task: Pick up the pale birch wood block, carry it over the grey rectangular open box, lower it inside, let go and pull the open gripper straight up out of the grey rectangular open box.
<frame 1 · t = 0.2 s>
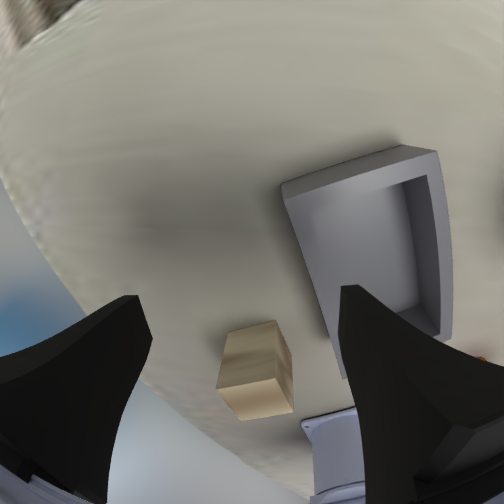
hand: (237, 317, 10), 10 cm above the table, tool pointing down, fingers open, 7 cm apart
grey rectangular open box: (369, 253, 19), on the table
birch block: (260, 344, 23), on the table
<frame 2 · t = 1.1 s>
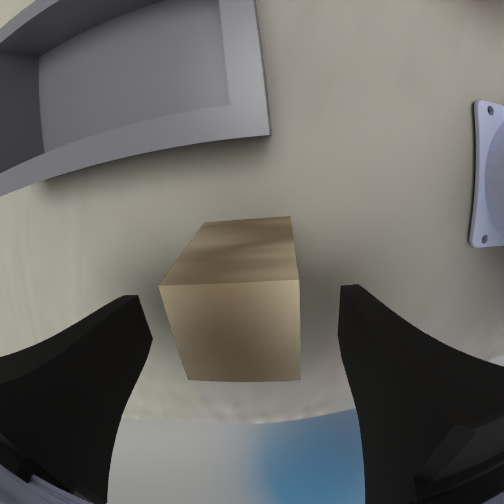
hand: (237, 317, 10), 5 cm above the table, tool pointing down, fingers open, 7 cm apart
grey rectangular open box: (125, 73, 11), on the table
birch block: (250, 258, 14), on the table
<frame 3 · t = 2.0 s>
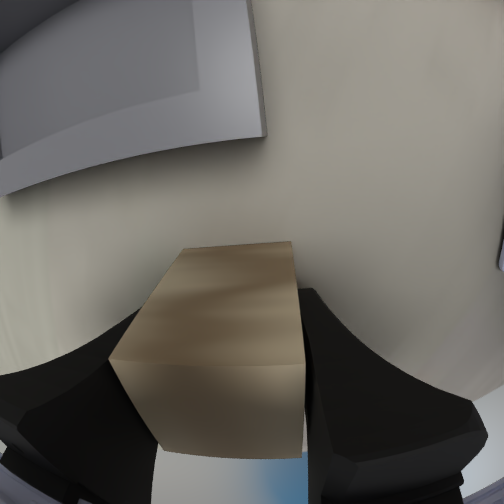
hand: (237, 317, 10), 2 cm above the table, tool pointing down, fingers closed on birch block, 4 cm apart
grey rectangular open box: (87, 65, 8), on the table
birch block: (241, 292, 11), on the table, touching gripper
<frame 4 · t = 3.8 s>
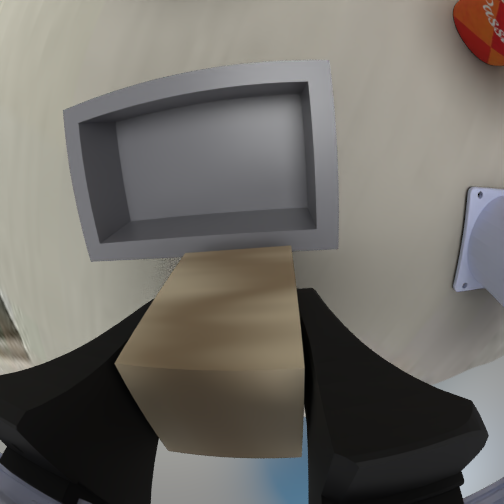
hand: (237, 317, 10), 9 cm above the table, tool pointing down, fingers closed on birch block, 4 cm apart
grey rectangular open box: (208, 157, 16), on the table
birch block: (243, 295, 11), point 7 cm above the table, touching gripper
paper cup: (480, 33, 10), on the table
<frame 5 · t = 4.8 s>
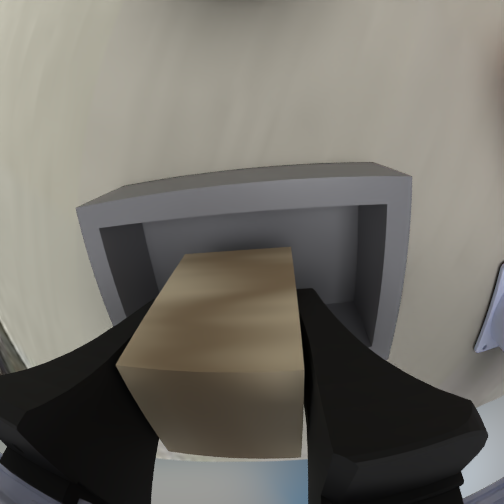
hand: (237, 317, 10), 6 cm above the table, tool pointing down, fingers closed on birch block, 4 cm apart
grey rectangular open box: (251, 250, 15), on the table
birch block: (242, 296, 12), point 4 cm above the table, touching gripper
when the fingers open (4 cm above the table, at t = 5.7 s): birch block drops 1 cm, resting on grey rectangular open box.
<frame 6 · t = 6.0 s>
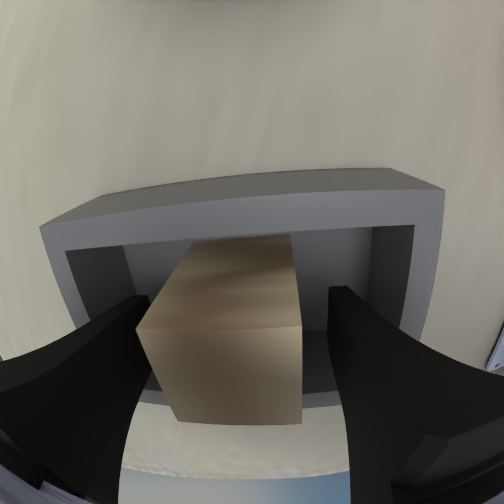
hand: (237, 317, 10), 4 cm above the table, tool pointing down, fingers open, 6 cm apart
grey rectangular open box: (246, 270, 13), on the table
birch block: (246, 280, 13), point 1 cm above the table, touching grey rectangular open box
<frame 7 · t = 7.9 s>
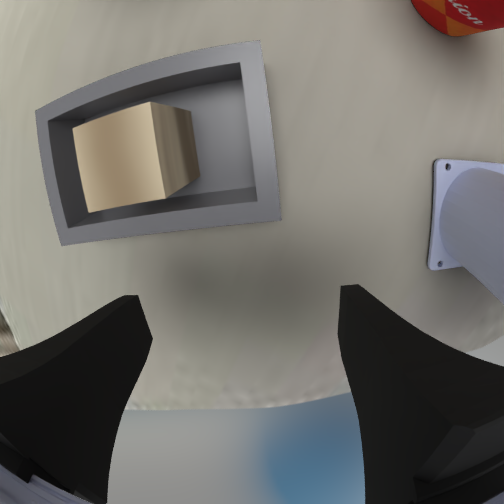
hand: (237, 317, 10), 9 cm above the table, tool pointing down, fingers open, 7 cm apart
grey rectangular open box: (166, 145, 17), on the table
birch block: (163, 149, 16), point 1 cm above the table, touching grey rectangular open box
paper cup: (439, 6, 11), on the table
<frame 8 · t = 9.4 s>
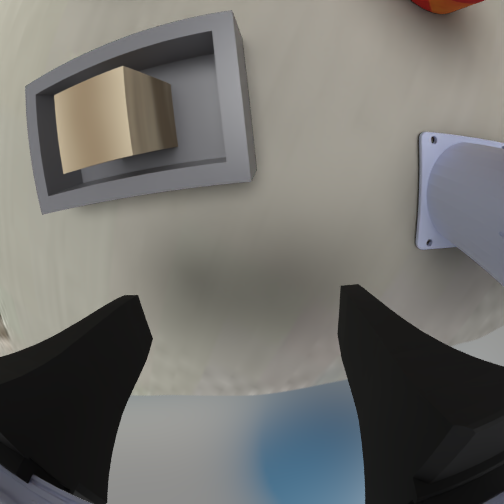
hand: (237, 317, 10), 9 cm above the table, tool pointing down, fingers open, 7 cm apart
grey rectangular open box: (147, 118, 16), on the table
birch block: (144, 121, 16), point 1 cm above the table, touching grey rectangular open box
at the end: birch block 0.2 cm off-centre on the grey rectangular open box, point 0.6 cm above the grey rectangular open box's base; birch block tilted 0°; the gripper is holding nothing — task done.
